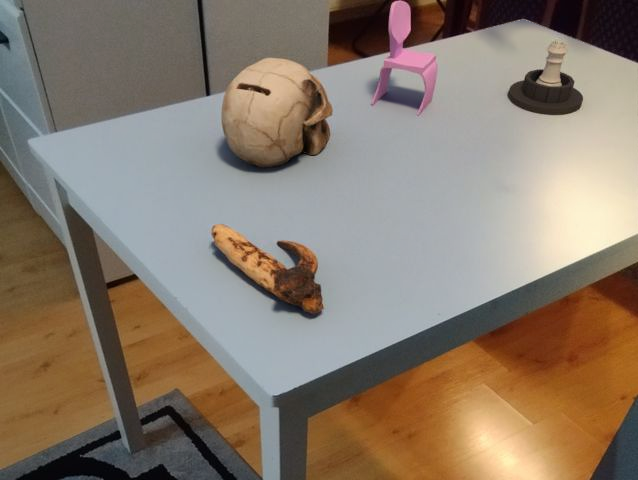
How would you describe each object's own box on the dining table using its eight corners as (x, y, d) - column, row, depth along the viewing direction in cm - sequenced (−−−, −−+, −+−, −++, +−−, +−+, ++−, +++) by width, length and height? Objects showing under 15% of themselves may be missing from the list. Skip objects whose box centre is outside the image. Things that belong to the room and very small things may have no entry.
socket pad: (570, 85, 118) (576, 65, 116) (590, 115, 110) (596, 94, 107) (502, 84, 118) (506, 63, 116) (515, 113, 110) (520, 92, 107)
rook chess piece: (545, 85, 116) (557, 36, 110) (565, 95, 113) (579, 45, 107) (526, 91, 114) (538, 41, 108) (547, 101, 111) (560, 50, 106)
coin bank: (326, 117, 107) (327, 31, 96) (340, 183, 95) (341, 95, 85) (226, 123, 106) (216, 37, 95) (227, 191, 94) (216, 102, 84)
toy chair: (419, 118, 108) (432, 17, 97) (368, 107, 110) (375, 7, 100) (436, 99, 113) (450, 1, 103) (387, 88, 116) (395, -8, 105)
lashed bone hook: (360, 297, 75) (258, 225, 84) (365, 262, 72) (258, 192, 81) (296, 332, 70) (195, 251, 79) (298, 296, 67) (193, 217, 76)
